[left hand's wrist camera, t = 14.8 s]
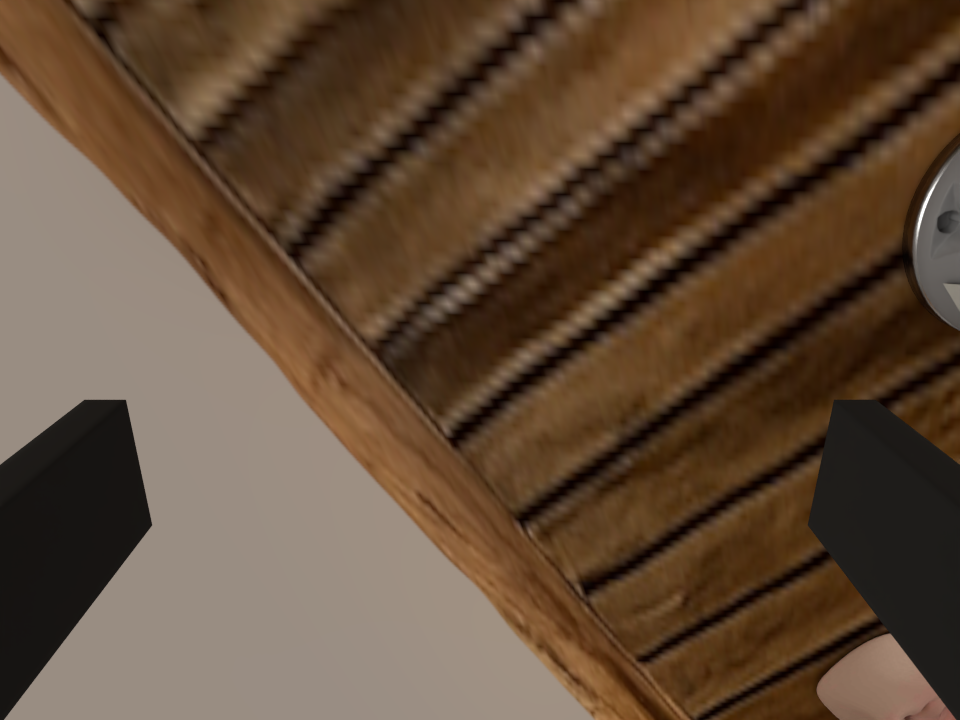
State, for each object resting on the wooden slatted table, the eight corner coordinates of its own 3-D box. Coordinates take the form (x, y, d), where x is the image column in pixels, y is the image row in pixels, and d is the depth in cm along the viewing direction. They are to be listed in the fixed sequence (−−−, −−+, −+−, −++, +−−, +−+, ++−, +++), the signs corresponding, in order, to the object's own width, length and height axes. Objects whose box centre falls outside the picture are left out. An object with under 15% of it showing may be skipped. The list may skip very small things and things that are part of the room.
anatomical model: (818, 751, 54) (900, 646, 50) (796, 709, 57) (871, 608, 54) (959, 792, 56) (1049, 694, 52) (929, 749, 59) (1011, 654, 55)
